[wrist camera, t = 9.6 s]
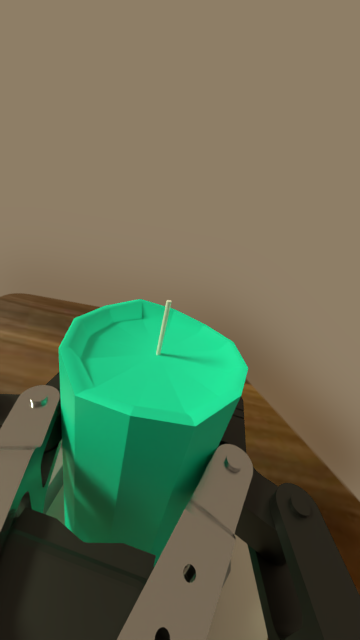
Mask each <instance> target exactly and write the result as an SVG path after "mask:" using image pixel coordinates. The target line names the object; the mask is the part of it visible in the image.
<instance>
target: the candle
mask: <svg viewBox="0 0 360 640" xmlns="http://www.w3.org/2000/svg"><path fill="white" fill-rule="evenodd" d="M170 306H171V301H170V300H167V302H166V307H165V306H162V305H159V304H156V303H152V302H149V301H145V300H142V299H139V300H133V301H127V302H122V303H118V304H112V305H107V306H103V307H101V308H98V309H96V310H94V311H91V312H89V313H86V314H84V315H81V316H79V317H77V318H74V320H73V322H72V324H71V325H70V327H69V329H68V331H67V333H66V335H65V337H64V339H63V341H62V343H61V344H60V346H59V372H60V400H61V428H62V457H63V485H64V513H65V526H66V527H67V528H68V529H69V530H70V531H71V532H72V533H74V534H75V535H76V536H77V537H78V538H79V539H80V540H82V541H83V542H87V543H124V544H127V545H129V546H132V547H135V548H137V549H140V550H143V551H145V552H148V553H151V554H154V555H156V558H155V562H154V567H155V565H156V563H157V561H158V559H159V557H160V555H161V553H162V551H163V550H164V548H165V546H166V544H167V542H168V540H169V538H170V536H171V534H172V532H173V530H174V528H175V526H176V525H177V523H178V521H179V519H180V517H181V515H182V513H183V511H184V509H185V507H186V505H187V504H188V502H189V500H190V499H191V497H192V495H193V493H194V491H195V490H196V488H197V486H198V484H199V482H200V480H201V478H202V476H203V474H204V472H205V470H206V467H207V465H208V463H209V461H210V459H211V458H212V457H213V455H214V453H215V451H216V449H217V448H218V446H219V443H220V441H221V439H222V437H223V435H224V432H225V430H226V428H227V426H228V424H229V421H230V419H231V417H232V415H233V413H234V410H235V408H236V406H237V404H238V402H239V399H240V397H241V394H242V391H243V387H244V383H245V379H246V375H247V371H248V367H247V365H246V363H245V362H244V360H243V358H242V356H241V355H240V353H239V351H238V349H237V347H236V346H235V344H234V342H232V341H231V340H229V339H227V338H226V337H224V336H223V335H221V334H219V333H218V332H216V331H215V330H213V329H212V328H210V327H209V326H207V325H205V324H203V323H201V322H199V321H197V320H195V319H193V318H191V317H189V316H187V315H185V314H183V313H181V312H179V311H177V310H175V309H172V308H170Z"/></svg>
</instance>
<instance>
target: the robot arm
mask: <svg viewBox="0 0 360 640" xmlns="http://www.w3.org/2000/svg"><path fill="white" fill-rule="evenodd" d="M243 411H244V407H243V399H242V398H241V397H240V399H239V402H238V404H237V406H236V408H235V410H234V413H233V415H232V417H231V419H230V421H229V424H228V426H227V428H226V430H225V432H224V435H223V437H222V439H221V441H220V443H219V446H218V448H217V449H216V451H215V453H214V455H213V457H212V458H211V459H210V461H209V463H208V465H207V467H206V470H205V472H204V474H203V476H202V478H201V480H200V482H199V484H198V486H197V488H196V490H195V491H194V493H193V495H192V497H191V499H190V500H189V502H188V504H187V505H186V507H185V509H184V511H183V513H182V515H181V517H180V519H179V521H178V523H177V525H176V526H175V528H174V530H173V532H172V534H171V536H170V538H169V540H168V542H167V544H166V546H165V548H164V550H163V551H162V553H161V555H160V557H159V559H158V561H157V563H156V565H155V567H154V562H155V558H156V555H154V554H151V553H148V552H145V551H143V550H140V549H137V548H135V547H132V546H129V545H127V544H124V543H87V542H83V541H82V540H80V539H79V538H78V537H77V536H76V535H75V534H74V533H72V532H71V531H70V530H69V529H68V528H67V527H66V526H65V525H63V524H62V523H61V522H60V521H59V520H58V519H57V518H54V517H51V516H49V515H46V514H43V510H44V503H45V497H46V492H47V489H48V485H49V482H50V479H51V476H52V472H53V469H54V466H55V463H56V459H57V456H58V453H59V450H60V447H61V442H62V428H61V400H60V372H59V373H58V374H57V375H56V376H55V377H53V378H52V379H51V380H50V381H49V382H48V383H47V384H46V385H40V386H35V387H32V388H30V389H28V390H26V391H24V392H23V393H22V394H21V395H13V394H0V640H206V639H207V636H208V632H209V629H210V626H211V622H212V619H213V616H214V613H215V609H216V606H217V603H218V599H219V596H220V593H221V589H222V586H223V583H224V579H225V576H226V573H227V569H228V566H229V563H230V559H231V556H232V553H233V549H234V545H235V540H236V537H235V536H234V535H237V536H238V537H239V538H240V539H241V540H243V541H244V542H245V543H246V544H247V545H248V549H249V554H250V558H251V563H252V567H253V572H254V576H255V581H256V585H257V590H258V594H259V599H260V603H261V608H262V612H263V617H264V621H265V626H266V630H267V635H268V639H269V640H360V595H359V593H358V591H357V589H356V587H355V585H354V583H353V581H352V579H351V576H350V574H349V572H348V570H347V568H346V566H345V564H344V562H343V560H342V557H341V555H340V553H339V551H338V549H337V547H336V545H335V543H334V540H333V538H332V536H331V534H330V532H329V530H328V528H327V526H326V524H325V521H324V519H323V517H322V515H321V513H320V511H319V509H318V507H317V505H316V503H315V502H314V500H313V499H312V498H311V496H310V495H309V494H308V493H307V492H306V491H304V490H303V489H302V488H300V487H299V486H297V485H294V484H291V483H284V484H282V485H280V486H279V487H278V486H277V485H275V484H274V483H272V482H271V481H269V480H268V479H266V478H265V477H263V476H262V475H261V474H259V473H258V472H257V471H256V470H255V469H254V467H253V466H252V462H251V460H250V458H249V457H248V455H247V454H246V443H245V425H244V412H243Z"/></svg>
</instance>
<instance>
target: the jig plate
mask: <svg viewBox="0 0 360 640" xmlns="http://www.w3.org/2000/svg"><path fill="white" fill-rule="evenodd" d="M43 514H46V515H49V516H51V517H54V518H57V519H58V520H59V521H60V522H61V523H62V524H63V525H65V513H64V485H63V457H62V442H61V447H60V450H59V453H58V456H57V459H56V463H55V466H54V469H53V472H52V476H51V479H50V482H49V485H48V489H47V492H46V497H45V503H44V510H43ZM234 536H235V537H236V540H235V545H234V549H233V553H232V556H231V559H230V563H229V566H228V569H227V573H226V576H225V579H224V583H223V586H222V589H221V593H220V596H219V599H218V603H217V606H216V609H215V613H214V616H213V619H212V622H211V626H210V629H209V632H208V636H207V639H206V640H267V638H268V635H267V630H266V626H265V621H264V617H263V612H262V608H261V603H260V599H259V594H258V590H257V585H256V581H255V576H254V572H253V567H252V563H251V558H250V554H249V549H248V545H247V544H246V543H245V542H244V541H243V540H241V539H240V538H239V537H238V536H237V535H234Z"/></svg>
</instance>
